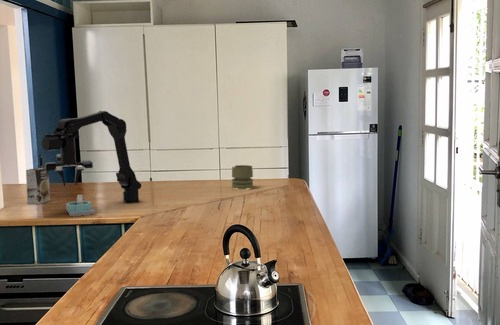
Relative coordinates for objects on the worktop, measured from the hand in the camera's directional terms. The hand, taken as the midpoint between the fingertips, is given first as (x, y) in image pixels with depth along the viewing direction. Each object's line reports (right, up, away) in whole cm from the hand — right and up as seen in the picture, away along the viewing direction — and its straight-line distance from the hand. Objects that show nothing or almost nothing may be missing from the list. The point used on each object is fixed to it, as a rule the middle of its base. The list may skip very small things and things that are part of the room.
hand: (70, 185), depth 222 cm
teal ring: (+3, -10, +2) cm, 11 cm away
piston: (+72, -5, +63) cm, 96 cm away
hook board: (+4, -12, +2) cm, 12 cm away
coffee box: (-24, -9, +26) cm, 36 cm away
